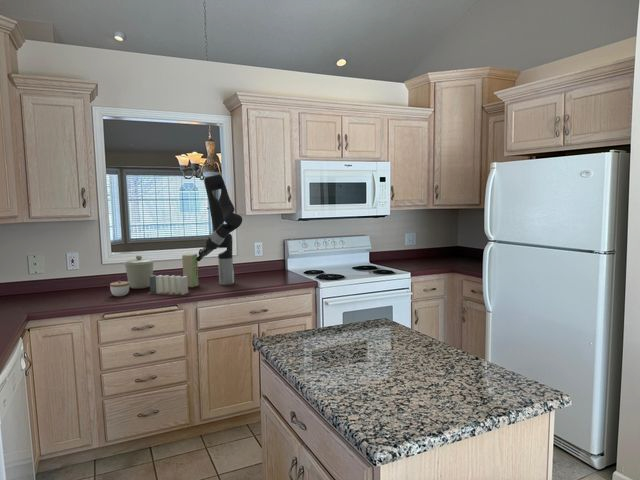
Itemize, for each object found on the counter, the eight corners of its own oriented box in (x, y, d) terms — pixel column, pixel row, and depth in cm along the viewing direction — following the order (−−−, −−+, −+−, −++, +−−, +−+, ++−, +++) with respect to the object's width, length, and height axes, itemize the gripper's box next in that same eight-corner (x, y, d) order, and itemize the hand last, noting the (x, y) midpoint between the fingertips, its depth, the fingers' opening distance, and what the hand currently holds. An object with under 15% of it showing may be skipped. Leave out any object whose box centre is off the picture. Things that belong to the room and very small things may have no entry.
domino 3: (169, 291, 275) (168, 275, 274) (164, 293, 270) (164, 276, 269) (167, 291, 275) (166, 275, 274) (162, 293, 270) (161, 276, 269)
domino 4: (175, 291, 274) (174, 275, 273) (171, 293, 269) (170, 277, 268) (173, 291, 274) (172, 275, 273) (168, 293, 269) (167, 277, 268)
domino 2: (163, 291, 276) (162, 275, 275) (158, 293, 271) (157, 276, 270) (161, 291, 276) (160, 275, 275) (156, 292, 272) (155, 276, 270)
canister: (122, 291, 281) (120, 257, 278) (128, 285, 298) (126, 253, 296) (153, 289, 284) (151, 256, 282) (157, 283, 302) (155, 252, 299)
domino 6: (188, 292, 271) (187, 276, 270) (183, 294, 267) (182, 277, 266) (185, 292, 272) (184, 276, 271) (181, 294, 267) (180, 277, 266)
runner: (190, 292, 273) (190, 291, 273) (182, 296, 265) (182, 295, 265) (156, 291, 280) (156, 290, 279) (147, 294, 271) (147, 293, 271)
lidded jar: (111, 298, 261) (109, 283, 260) (110, 295, 271) (109, 279, 270) (131, 296, 266) (130, 280, 265) (129, 293, 276) (128, 277, 274)
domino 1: (157, 290, 277) (156, 274, 276) (152, 292, 272) (151, 276, 271) (155, 290, 277) (154, 274, 276) (150, 292, 273) (149, 276, 271)
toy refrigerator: (194, 288, 286) (192, 255, 284) (183, 287, 288) (181, 255, 286) (199, 285, 294) (198, 253, 292) (189, 285, 296) (187, 253, 293)
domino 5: (181, 292, 273) (181, 275, 271) (177, 293, 268) (176, 277, 267) (179, 292, 273) (178, 275, 272) (174, 293, 268) (174, 277, 267)
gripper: (217, 234, 267) (199, 254, 271) (205, 235, 254) (187, 257, 258) (225, 243, 266) (207, 263, 270) (214, 245, 253) (195, 266, 257)
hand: (197, 260), depth 264 cm, fingers closed
